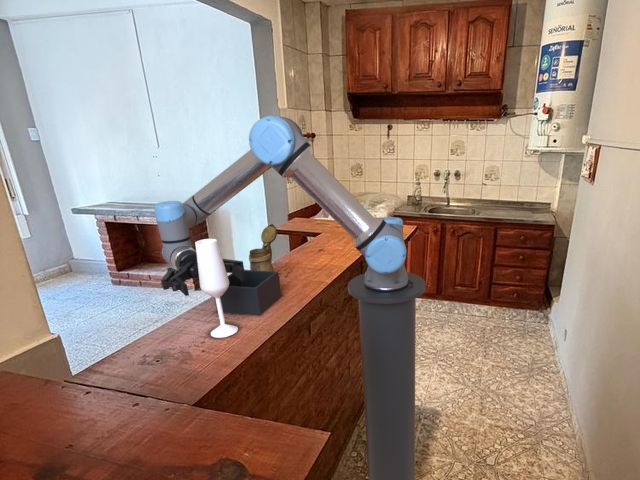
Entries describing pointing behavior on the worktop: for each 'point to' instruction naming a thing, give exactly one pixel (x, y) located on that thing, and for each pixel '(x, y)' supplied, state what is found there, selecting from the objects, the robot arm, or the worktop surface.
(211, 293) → the champagne flute
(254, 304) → the dark grey open box
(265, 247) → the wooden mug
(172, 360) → the worktop surface
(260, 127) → the robot arm
